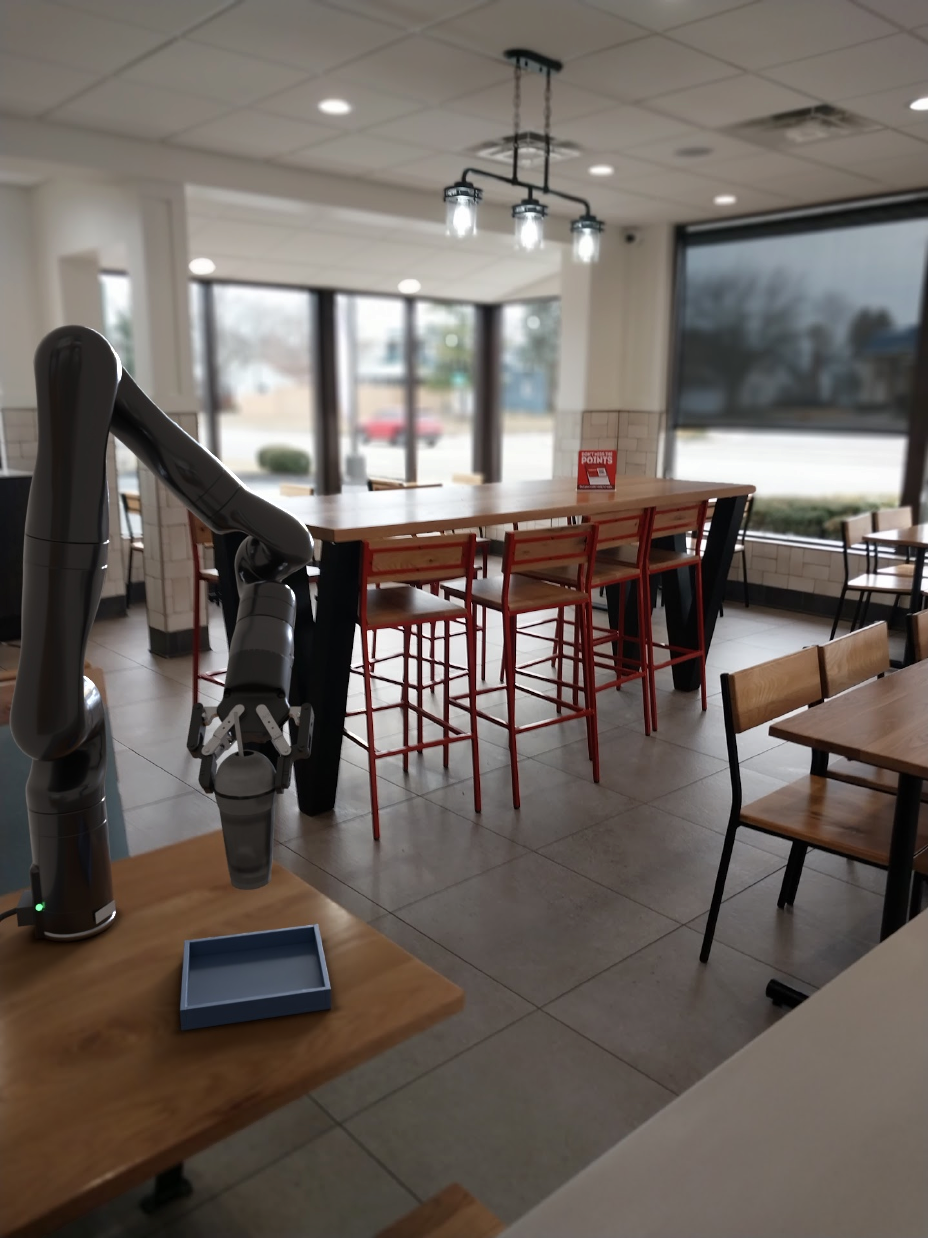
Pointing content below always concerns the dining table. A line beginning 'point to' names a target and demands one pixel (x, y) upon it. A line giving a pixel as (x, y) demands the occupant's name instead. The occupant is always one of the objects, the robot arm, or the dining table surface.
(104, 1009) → the dining table surface
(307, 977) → the tray
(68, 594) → the robot arm
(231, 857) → the beverage cup
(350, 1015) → the dining table surface
